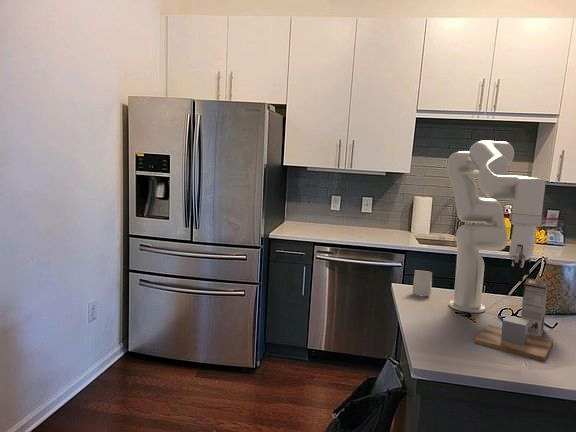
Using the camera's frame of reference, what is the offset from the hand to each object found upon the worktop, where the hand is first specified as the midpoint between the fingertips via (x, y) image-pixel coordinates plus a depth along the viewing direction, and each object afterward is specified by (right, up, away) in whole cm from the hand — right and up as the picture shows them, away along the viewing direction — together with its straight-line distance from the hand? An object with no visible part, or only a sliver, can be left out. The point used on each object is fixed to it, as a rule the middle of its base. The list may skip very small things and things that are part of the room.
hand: (519, 277), depth 126 cm
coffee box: (+11, -20, +13) cm, 26 cm away
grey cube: (-1, -19, +2) cm, 19 cm away
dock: (-1, -20, +2) cm, 20 cm away
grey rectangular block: (-14, -15, +49) cm, 53 cm away
